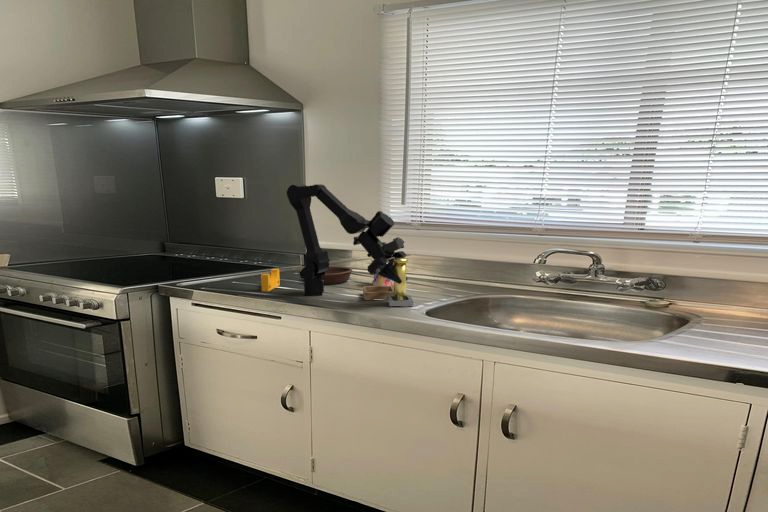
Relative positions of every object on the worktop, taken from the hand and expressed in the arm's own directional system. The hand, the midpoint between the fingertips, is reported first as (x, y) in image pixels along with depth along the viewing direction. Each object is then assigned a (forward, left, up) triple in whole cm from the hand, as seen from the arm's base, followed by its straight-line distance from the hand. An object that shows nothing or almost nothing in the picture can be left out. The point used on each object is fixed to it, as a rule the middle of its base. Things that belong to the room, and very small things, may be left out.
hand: (403, 281), depth 168 cm
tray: (-7, +12, -8) cm, 16 cm away
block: (-1, +1, -8) cm, 8 cm away
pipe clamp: (-47, +31, -8) cm, 57 cm away
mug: (-3, +31, -8) cm, 32 cm away
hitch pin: (-1, +1, -8) cm, 8 cm away
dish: (-24, +42, -8) cm, 49 cm away
